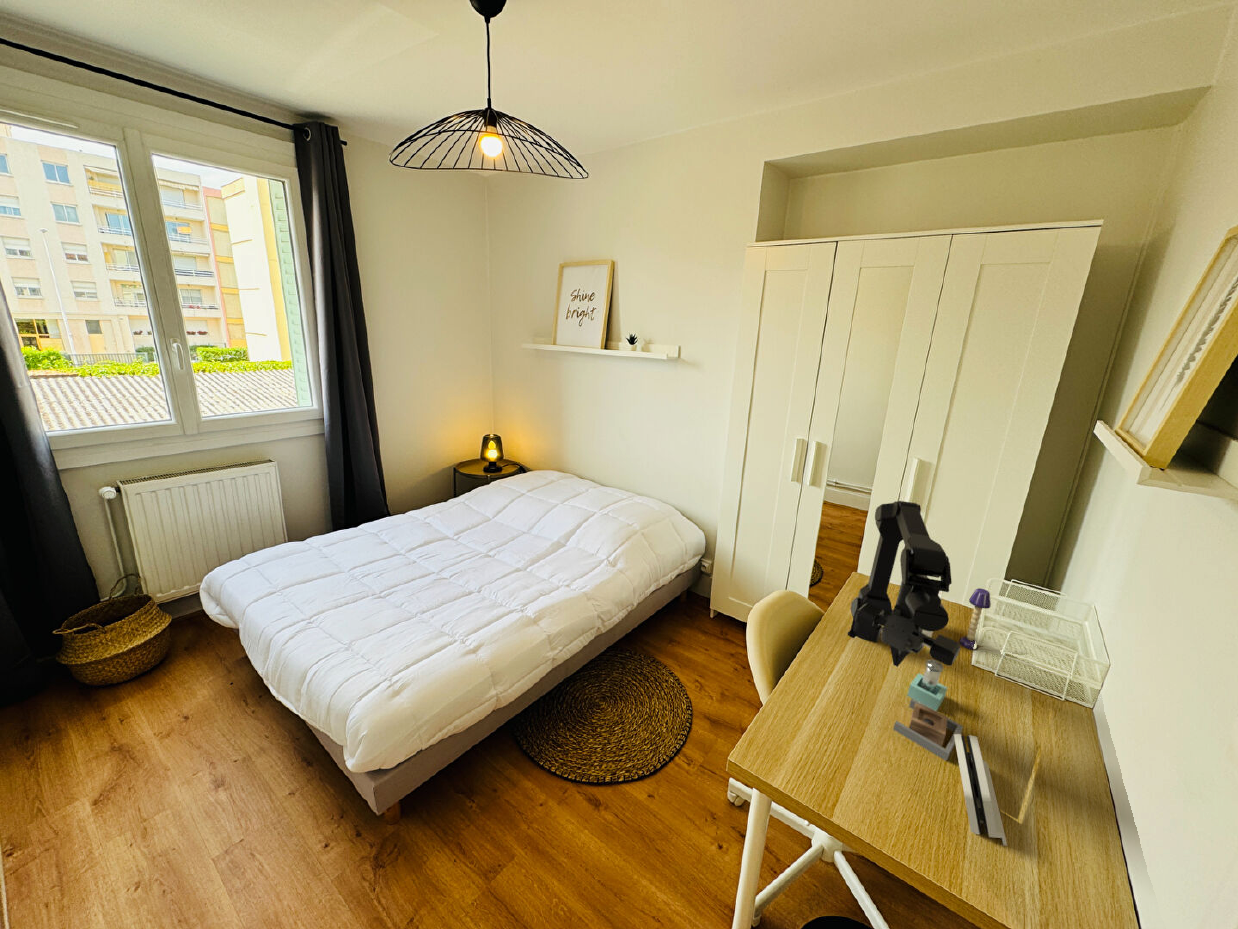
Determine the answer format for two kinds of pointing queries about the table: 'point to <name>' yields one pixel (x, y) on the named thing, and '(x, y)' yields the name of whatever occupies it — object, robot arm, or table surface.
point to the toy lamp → (976, 615)
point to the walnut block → (929, 724)
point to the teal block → (926, 693)
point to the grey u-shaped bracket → (926, 742)
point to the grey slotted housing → (986, 803)
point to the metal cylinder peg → (931, 675)
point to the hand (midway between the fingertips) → (896, 665)
